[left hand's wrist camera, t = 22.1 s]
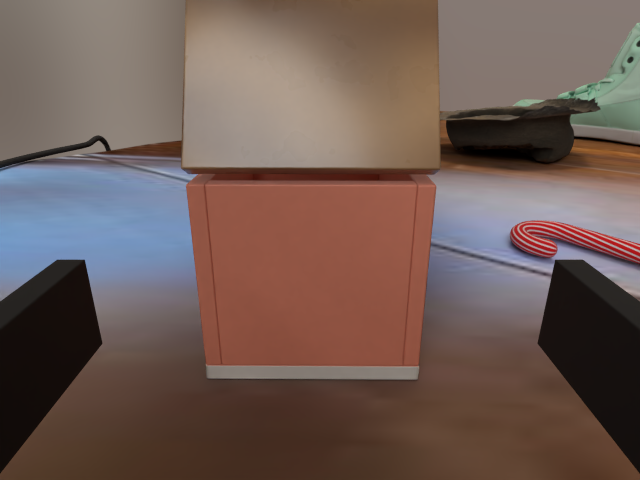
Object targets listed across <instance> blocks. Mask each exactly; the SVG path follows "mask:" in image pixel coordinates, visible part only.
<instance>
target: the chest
mask: <svg viewBox="0 0 640 480" xmlns="http://www.w3.org/2000/svg"><path fill="white" fill-rule="evenodd" d="M186 189H187V198H188V207H189V216H190V225H191V234H192V243H193V251H194V260H195V269H196V278H197V287H198V296H199V305H200V314H201V323H202V332H203V341H204V350H205V359H206V374H207V378H213V379H406V380H418V373H419V365H418V364H419V356H420V346H421V336H422V326H423V316H424V305H425V295H426V285H427V275H428V265H429V255H430V245H431V235H432V225H433V215H434V204H435V194H436V185H435V184H434V183H433V182H432V181H431V180H430V179H429V178H428V176H427V175H426V174H198V175H197V176H196V177H195V178H194V179H192V180H191V181H190V182H189V183H188V184H187V185H186Z"/></svg>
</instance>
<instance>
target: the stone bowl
mask: <svg viewBox="0 0 640 480" xmlns="http://www.w3.org/2000/svg"><path fill="white" fill-rule="evenodd" d="M595 101H596V100H595V98H593V99H591V100H589V101H588V100H582V99H580V98H578V99H576V100H575V98H569V99H563V98H561V99H553V100H545V101H543V102H540V103H534V104H531V105H530V106H509V107H492V108H482V109H469V110H458V111H453V112H452V111H450V112H444V113H440V120H447V121H446V129H447V133H448V136H449V139H450V141H451V142H452V144H453V146H454V148H455V149H456V150H459V149H460V148H463V149H464V150H470V149H472V150H476V149H481V150H486V149H500V148H501V147H504V146H508V147H510V148H517V149H518V150H519V151H520V152H521V153H526V154H527V155H528V156H529V157H533V158H534V159H535V160H536V161H541V162H545V163H549V162H554V161H555V160H559V159H561V158H562V157H565V156H567V155H568V154H569V153H570V151H571V149H572V146H573V142H574V130H573V128H572V126H571V124H570V117H571V114H581V113H588V112H596V111H598V110H601V109H600V107H599V106H597V105H598V102H596V103H595Z"/></svg>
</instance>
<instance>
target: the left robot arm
mask: <svg viewBox="0 0 640 480" xmlns="http://www.w3.org/2000/svg"><path fill="white" fill-rule="evenodd" d="M97 141H101V142H102V144H103V145H104V147H105V149H106V151H110V150H111V149H110V146H109V144H108V142H107V141H106V140H105V139H104V138H103V137H101V136H95V137H93V138H92V139H90V140H89V141H87V142H85V143H80V144H75V145H70V146H65V147H60V148H55V149H50V150H45V151H41V152H36V153H32V154H27V155H24V156H19V157H15V158H11V159H7V160H3V161H0V168H2V167H6V166H9V165H13V164H17V163H20V162H24V161H28V160H32V159H36V158H40V157H45V156H49V155H53V154H58V153H63V152H68V151H73V150H77V149H82V148H86V147H89V146H91V145H93V144H94V143H95V142H97ZM101 345H102V339H101V335H100V330H99V325H98V320H97V316H96V311H95V306H94V302H93V297H92V292H91V287H90V283H89V278H88V273H87V268H86V264H85V260H56V261H55V262H54V263H52V264H51V265H49V266H48V267H47V268H45V269H44V270H43V271H41V272H40V273H39V274H37V275H36V276H34V277H33V278H32V279H30V280H29V281H28V282H26V283H25V284H24V285H22V286H21V287H19V288H18V289H17V290H15V291H14V292H13V293H11V294H10V295H9V296H7V297H6V298H5V299H3V300H2V301H0V473H1V472H2V470H3V469H4V468H5V467H6V465H7V464H8V463H9V462H10V460H11V459H12V458H13V456H14V455H15V454H16V453H17V451H18V450H19V449H20V448H21V446H22V445H23V444H24V442H25V441H26V440H27V439H28V437H29V436H30V435H31V434H32V432H33V431H34V430H35V428H36V427H37V426H38V425H39V423H40V422H41V421H42V420H43V418H44V417H45V416H46V414H47V413H48V412H49V411H50V409H51V408H52V407H53V406H54V404H55V403H56V402H57V400H58V399H59V398H60V397H61V395H62V394H63V393H64V392H65V390H66V389H67V388H68V387H69V385H70V384H71V383H72V381H73V380H74V379H75V378H76V376H77V375H78V374H79V373H80V371H81V370H82V369H83V367H84V366H85V365H86V364H87V362H88V361H89V360H90V359H91V357H92V356H93V355H94V353H95V352H96V351H97V350H98V348H99V347H100V346H101ZM538 345H539V346H540V347H541V348H542V350H543V351H544V352H545V353H546V355H547V356H548V357H549V359H550V360H551V361H552V362H553V364H554V365H555V366H556V367H557V369H558V370H559V371H560V373H561V374H562V375H563V376H564V378H565V379H566V380H567V381H568V383H569V384H570V385H571V387H572V388H573V389H574V390H575V392H576V393H577V394H578V395H579V397H580V398H581V399H582V401H583V402H584V403H585V404H586V406H587V407H588V408H589V409H590V411H591V412H592V413H593V414H594V416H595V417H596V418H597V420H598V421H599V422H600V423H601V425H602V426H603V427H604V428H605V430H606V431H607V432H608V434H609V435H610V436H611V437H612V439H613V440H614V441H615V442H616V444H617V445H618V446H619V448H620V449H621V450H622V451H623V453H624V454H625V455H626V456H627V458H628V459H629V460H630V462H631V463H632V464H633V465H634V467H635V468H636V469H637V470H638V472H639V473H640V301H638V300H637V299H635V298H634V297H633V296H631V295H630V294H629V293H627V292H626V291H625V290H623V289H622V288H621V287H619V286H618V285H616V284H615V283H614V282H612V281H611V280H610V279H608V278H607V277H606V276H604V275H603V274H601V273H600V272H599V271H597V270H596V269H595V268H593V267H592V266H591V265H589V264H588V263H586V262H585V261H584V260H555V264H554V268H553V273H552V278H551V283H550V287H549V292H548V297H547V302H546V306H545V311H544V316H543V320H542V325H541V330H540V335H539V339H538Z"/></svg>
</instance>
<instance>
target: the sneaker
mask: <svg viewBox="0 0 640 480" xmlns="http://www.w3.org/2000/svg"><path fill="white" fill-rule="evenodd" d="M561 98H563V99H569V98H575V100H576V99H578V98H580V99H582V100H588V101H589V100H591V99H593V98H595V100H596V101H595V103H596V102H598V105H597V106H599V107H600V109H601V110H598V111H596V112H588V113H581V114H571V117H570V124H571V126H572V128H573V130H574V136H578V137H589V138H597V139H604V140H611V141H617V142H623V143H629V144H635V145H640V23H637V24H636V26H635V27H634V28H633V29H632V31H631V32H630V33H629V35H628V37H627V39H626V40H625V42H624V44H623V46H622V48H621V49H620V51H619V53H618V54H617V56H616V58H615V59H614V61H613V63H612V65H611V67H610V69H609V71H608V73H607V75H606V77H605V79H603V80H601V81H599V82H598V83H590V84H587V85H584V86H581V87H579V88H577V89H576V90H575V91H570V92H566V93H563V94H560V95H558V97H557V99H561ZM543 101H544V100H527V99H524V100H521V101H519V102H517V103H516V104H515V105H513V106H530V105H531V104H534V103H540V102H543Z"/></svg>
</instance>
